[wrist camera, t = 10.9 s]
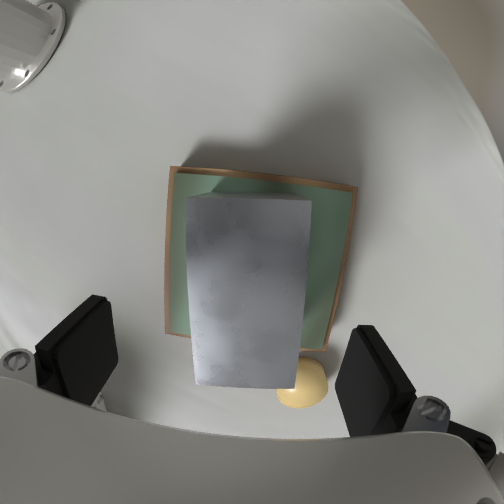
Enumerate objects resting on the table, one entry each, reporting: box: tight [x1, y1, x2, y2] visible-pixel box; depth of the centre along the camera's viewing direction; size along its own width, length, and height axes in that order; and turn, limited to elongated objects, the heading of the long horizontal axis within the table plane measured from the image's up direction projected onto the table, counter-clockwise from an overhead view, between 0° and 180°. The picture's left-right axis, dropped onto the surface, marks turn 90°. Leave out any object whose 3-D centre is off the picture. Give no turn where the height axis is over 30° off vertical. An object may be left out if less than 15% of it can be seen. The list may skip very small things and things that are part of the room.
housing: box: [185, 192, 312, 389], centre depth 18 cm, size 11×6×7 cm, turn 179°
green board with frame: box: [164, 166, 358, 352], centre depth 23 cm, size 14×14×3 cm
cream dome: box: [277, 357, 328, 408], centre depth 26 cm, size 5×5×2 cm
